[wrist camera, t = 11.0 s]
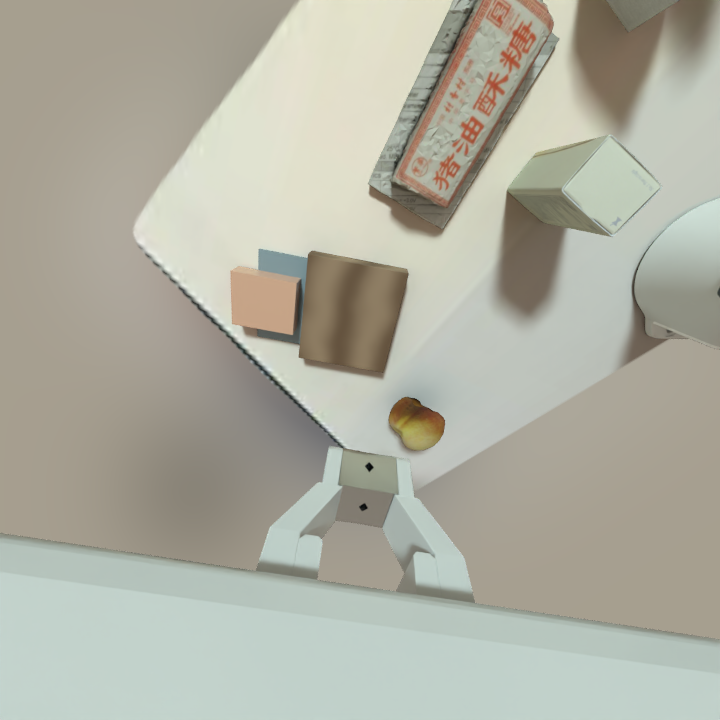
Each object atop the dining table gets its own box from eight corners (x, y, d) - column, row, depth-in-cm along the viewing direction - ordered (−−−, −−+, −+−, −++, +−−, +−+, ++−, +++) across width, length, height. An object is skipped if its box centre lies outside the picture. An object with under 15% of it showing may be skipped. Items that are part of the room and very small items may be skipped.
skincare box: (575, 188, 33) (668, 186, 22) (542, 225, 35) (614, 240, 24) (534, 150, 32) (614, 129, 21) (502, 190, 34) (560, 190, 23)
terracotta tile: (301, 278, 39) (296, 283, 37) (297, 327, 42) (292, 335, 40) (238, 266, 39) (230, 270, 37) (239, 317, 42) (232, 324, 40)
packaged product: (483, -71, 22) (585, 17, 24) (465, -29, 26) (553, 43, 28) (365, 183, 30) (449, 234, 32) (367, 184, 34) (440, 229, 36)
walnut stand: (406, 269, 38) (408, 273, 36) (382, 363, 45) (383, 372, 43) (312, 250, 38) (308, 254, 35) (302, 349, 44) (298, 357, 42)
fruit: (391, 383, 47) (393, 417, 40) (445, 388, 47) (457, 423, 40) (384, 421, 50) (386, 458, 43) (434, 426, 50) (444, 464, 43)
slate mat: (319, 260, 38) (318, 260, 38) (309, 344, 44) (309, 345, 44) (259, 248, 38) (258, 249, 38) (258, 335, 44) (257, 336, 43)
